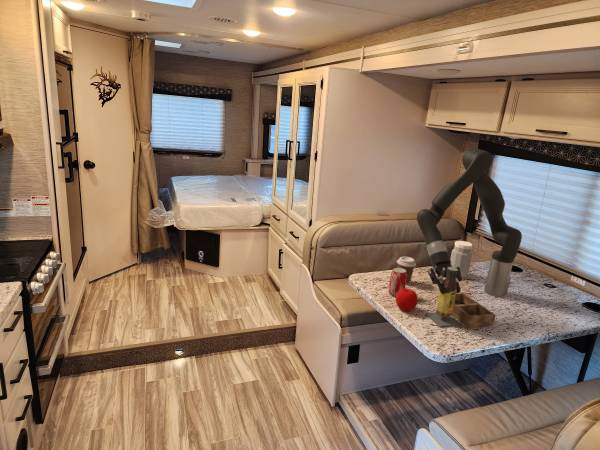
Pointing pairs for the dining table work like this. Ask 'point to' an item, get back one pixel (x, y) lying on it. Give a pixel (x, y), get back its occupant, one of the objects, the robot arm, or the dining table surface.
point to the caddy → (471, 312)
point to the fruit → (406, 299)
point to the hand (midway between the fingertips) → (451, 292)
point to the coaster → (443, 320)
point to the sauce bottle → (447, 294)
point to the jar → (462, 257)
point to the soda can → (397, 280)
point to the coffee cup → (407, 266)
